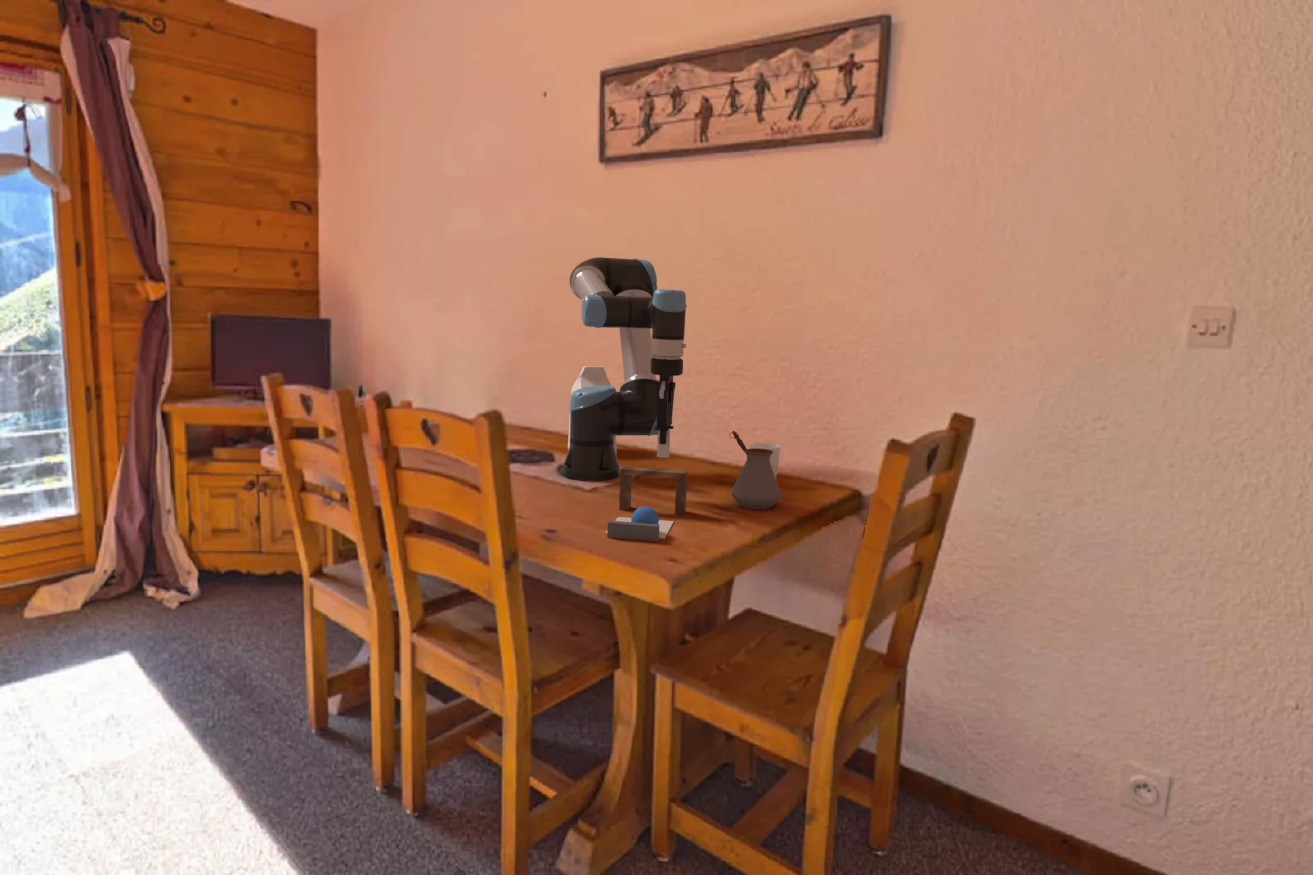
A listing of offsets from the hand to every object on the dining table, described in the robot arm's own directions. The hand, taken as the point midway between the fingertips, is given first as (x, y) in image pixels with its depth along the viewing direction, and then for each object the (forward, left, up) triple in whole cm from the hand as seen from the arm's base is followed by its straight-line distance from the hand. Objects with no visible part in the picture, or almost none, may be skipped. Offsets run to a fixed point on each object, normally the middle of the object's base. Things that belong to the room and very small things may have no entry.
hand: (663, 456), depth 182 cm
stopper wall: (0, -35, -10) cm, 36 cm away
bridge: (0, -14, -10) cm, 17 cm away
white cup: (+23, +21, -10) cm, 33 cm away
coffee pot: (+20, +2, -10) cm, 23 cm away
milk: (-30, +47, -10) cm, 57 cm away
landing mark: (0, -28, -10) cm, 29 cm away
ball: (+2, -31, -7) cm, 32 cm away
